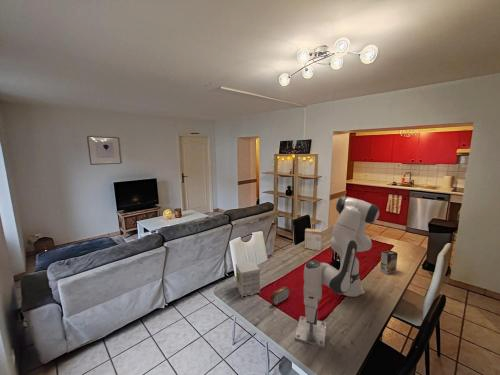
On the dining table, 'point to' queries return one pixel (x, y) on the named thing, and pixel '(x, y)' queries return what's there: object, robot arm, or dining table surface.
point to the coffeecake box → (313, 238)
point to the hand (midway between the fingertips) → (312, 317)
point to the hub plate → (311, 332)
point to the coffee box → (388, 262)
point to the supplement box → (248, 278)
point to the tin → (280, 295)
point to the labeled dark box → (315, 318)
